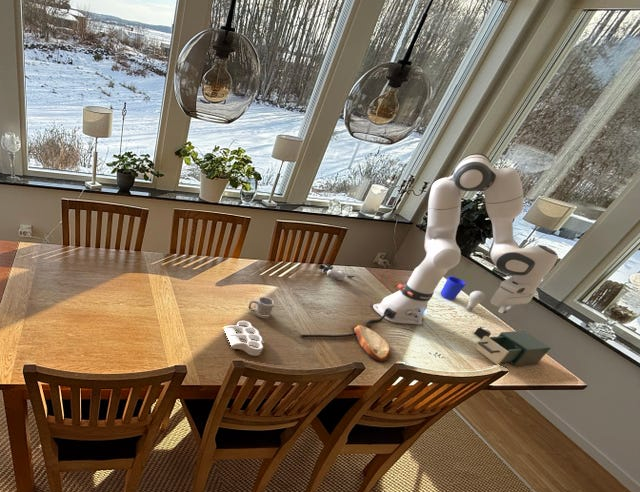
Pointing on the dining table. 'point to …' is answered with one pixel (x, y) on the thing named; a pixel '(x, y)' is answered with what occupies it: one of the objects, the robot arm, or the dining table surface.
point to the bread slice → (372, 343)
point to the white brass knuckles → (244, 337)
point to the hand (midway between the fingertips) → (501, 312)
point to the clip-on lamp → (333, 272)
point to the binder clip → (482, 332)
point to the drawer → (499, 349)
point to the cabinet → (527, 347)
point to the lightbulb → (475, 299)
